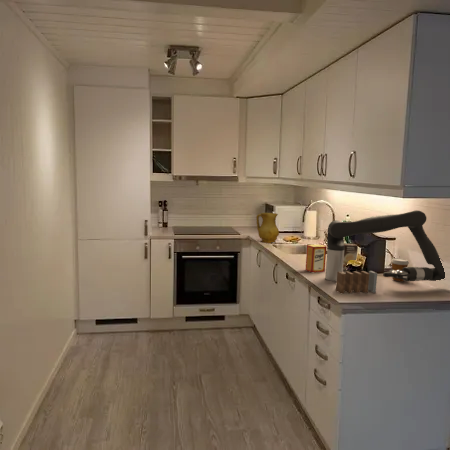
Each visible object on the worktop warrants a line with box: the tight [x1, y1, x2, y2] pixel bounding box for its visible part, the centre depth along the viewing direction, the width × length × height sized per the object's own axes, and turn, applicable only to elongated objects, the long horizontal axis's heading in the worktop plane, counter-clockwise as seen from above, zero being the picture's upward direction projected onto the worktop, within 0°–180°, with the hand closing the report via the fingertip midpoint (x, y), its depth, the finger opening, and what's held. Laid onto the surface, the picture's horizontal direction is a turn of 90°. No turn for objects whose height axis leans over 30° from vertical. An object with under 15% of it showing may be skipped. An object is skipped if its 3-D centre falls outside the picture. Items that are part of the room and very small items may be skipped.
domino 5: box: [368, 270, 378, 293], centre depth 222 cm, size 2×5×10 cm, turn 15°
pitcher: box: [256, 212, 280, 244], centre depth 365 cm, size 17×19×25 cm
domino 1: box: [335, 272, 345, 294], centre depth 217 cm, size 2×5×10 cm, turn 14°
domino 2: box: [344, 270, 353, 294], centre depth 218 cm, size 2×5×10 cm, turn 14°
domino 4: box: [360, 270, 369, 294], centre depth 221 cm, size 2×5×10 cm, turn 14°
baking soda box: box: [305, 244, 327, 273], centre depth 262 cm, size 10×6×16 cm
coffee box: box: [343, 242, 359, 271], centre depth 270 cm, size 9×6×16 cm
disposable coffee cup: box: [390, 257, 410, 282], centre depth 248 cm, size 10×10×12 cm
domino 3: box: [352, 270, 361, 294], centre depth 220 cm, size 2×5×10 cm, turn 14°
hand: (384, 274), depth 223 cm, fingers closed
